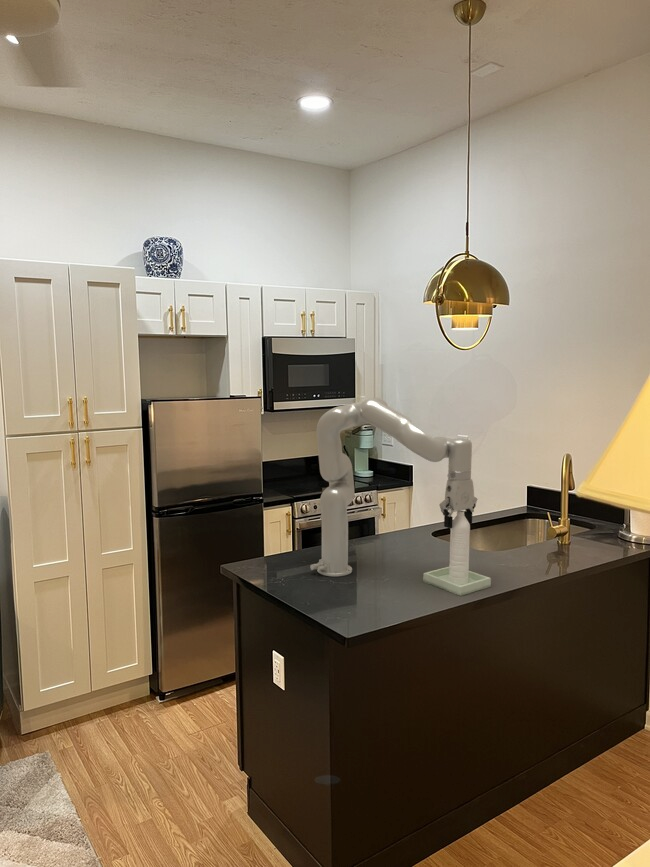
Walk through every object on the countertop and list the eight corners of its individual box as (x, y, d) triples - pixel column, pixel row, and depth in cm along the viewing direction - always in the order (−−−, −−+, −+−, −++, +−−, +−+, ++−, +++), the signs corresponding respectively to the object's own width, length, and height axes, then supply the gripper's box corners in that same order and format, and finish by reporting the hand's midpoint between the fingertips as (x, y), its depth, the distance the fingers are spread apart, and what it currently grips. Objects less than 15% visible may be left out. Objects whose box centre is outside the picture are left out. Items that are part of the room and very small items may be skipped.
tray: (460, 596, 211) (460, 587, 211) (423, 581, 225) (423, 573, 225) (490, 586, 220) (490, 578, 220) (453, 573, 234) (453, 565, 234)
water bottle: (472, 584, 220) (474, 512, 217) (456, 587, 218) (458, 513, 215) (456, 576, 228) (458, 506, 225) (441, 578, 225) (443, 508, 223)
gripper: (449, 480, 210) (448, 531, 212) (485, 474, 220) (483, 523, 222) (433, 476, 216) (432, 526, 218) (468, 471, 226) (467, 519, 228)
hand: (458, 525), depth 220 cm, fingers open, 9 cm apart
